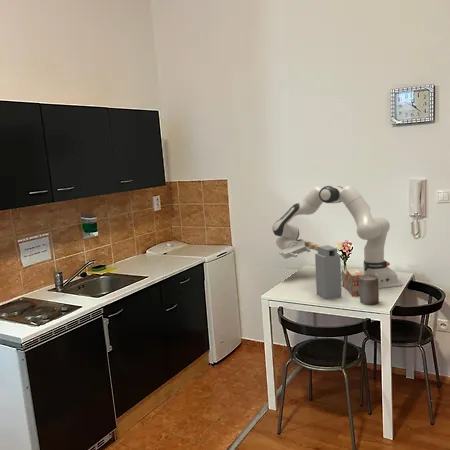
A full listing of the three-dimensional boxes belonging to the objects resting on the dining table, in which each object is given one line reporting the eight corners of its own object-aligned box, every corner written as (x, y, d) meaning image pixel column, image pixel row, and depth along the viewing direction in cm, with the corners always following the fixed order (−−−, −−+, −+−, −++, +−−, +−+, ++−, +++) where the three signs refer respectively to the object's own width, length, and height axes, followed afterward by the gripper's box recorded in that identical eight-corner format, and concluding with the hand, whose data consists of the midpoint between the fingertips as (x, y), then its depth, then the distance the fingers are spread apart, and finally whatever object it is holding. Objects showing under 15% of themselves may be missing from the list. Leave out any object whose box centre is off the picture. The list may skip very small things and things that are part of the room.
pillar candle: (379, 299, 242) (378, 272, 240) (378, 305, 233) (377, 277, 231) (360, 298, 246) (359, 272, 243) (359, 304, 237) (358, 277, 234)
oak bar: (304, 246, 273) (304, 242, 272) (308, 245, 274) (308, 241, 273) (322, 253, 252) (322, 248, 252) (327, 252, 253) (326, 248, 252)
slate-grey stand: (316, 294, 257) (314, 247, 252) (332, 291, 260) (330, 244, 255) (325, 299, 247) (323, 250, 243) (341, 296, 250) (340, 248, 246)
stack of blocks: (342, 285, 271) (341, 265, 269) (352, 284, 271) (352, 264, 269) (352, 296, 250) (351, 275, 248) (363, 295, 250) (363, 274, 248)
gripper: (276, 248, 289) (287, 254, 276) (304, 238, 295) (315, 243, 282) (278, 257, 291) (289, 263, 278) (305, 246, 297) (317, 252, 284)
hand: (302, 253), depth 280 cm, fingers open, 8 cm apart
